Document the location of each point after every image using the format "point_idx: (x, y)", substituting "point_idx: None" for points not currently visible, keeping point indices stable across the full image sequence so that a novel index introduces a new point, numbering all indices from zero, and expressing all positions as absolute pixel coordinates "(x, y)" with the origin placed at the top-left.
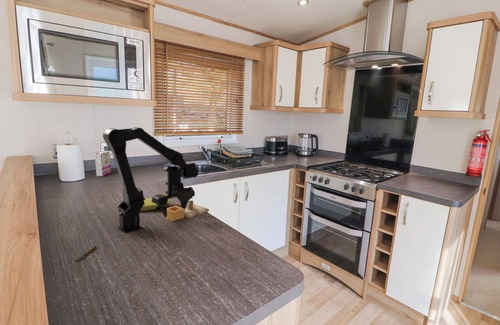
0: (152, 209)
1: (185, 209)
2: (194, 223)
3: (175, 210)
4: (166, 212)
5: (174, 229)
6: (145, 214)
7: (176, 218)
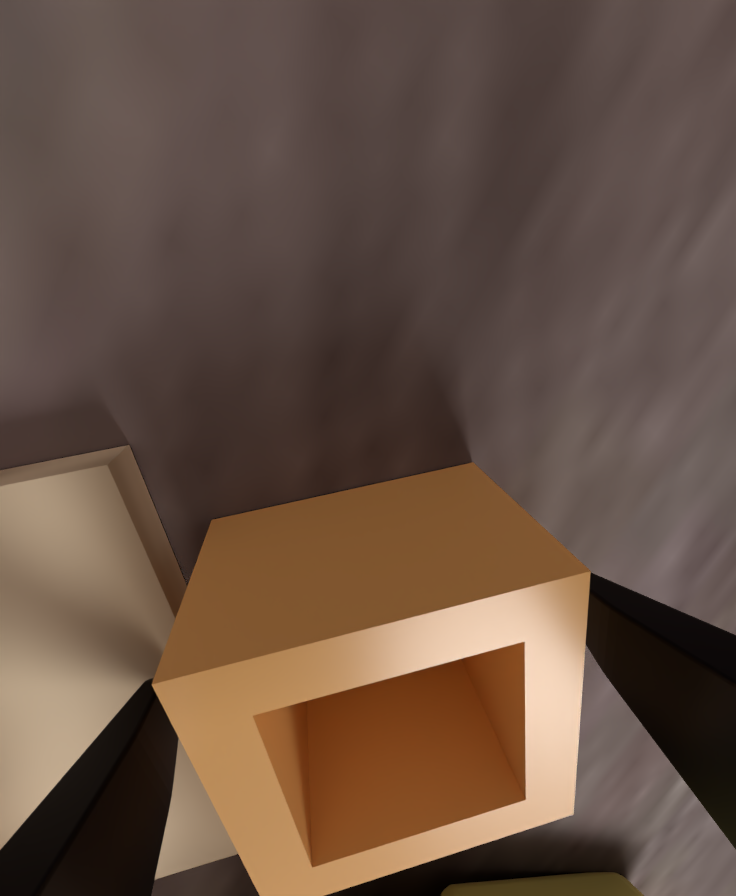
0: (474, 883)
1: None
2: (128, 4)
3: (458, 658)
4: (673, 636)
5: (695, 36)
6: (585, 795)
7: (405, 492)
